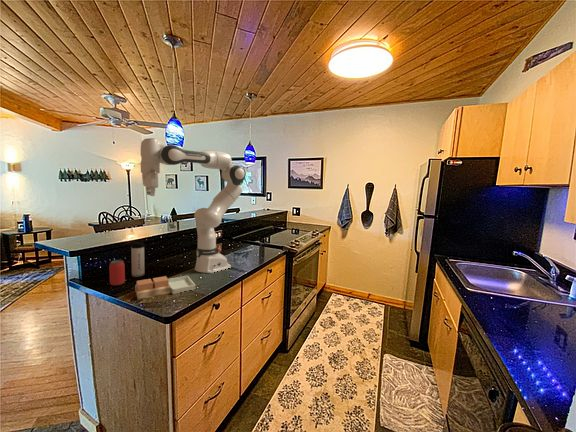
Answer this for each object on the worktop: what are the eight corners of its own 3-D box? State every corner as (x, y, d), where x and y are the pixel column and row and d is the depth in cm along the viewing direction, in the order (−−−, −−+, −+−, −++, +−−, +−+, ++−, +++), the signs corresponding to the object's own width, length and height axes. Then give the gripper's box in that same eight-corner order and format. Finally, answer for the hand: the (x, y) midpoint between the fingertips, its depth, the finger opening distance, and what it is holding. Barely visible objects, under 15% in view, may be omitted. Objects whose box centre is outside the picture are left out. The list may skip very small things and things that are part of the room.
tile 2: (166, 281, 126) (166, 276, 126) (168, 285, 121) (168, 279, 121) (152, 283, 122) (152, 278, 122) (155, 288, 118) (154, 282, 117)
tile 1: (150, 284, 122) (150, 278, 121) (152, 288, 117) (152, 282, 117) (136, 286, 118) (136, 280, 118) (138, 291, 113) (138, 285, 113)
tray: (187, 279, 137) (187, 275, 137) (195, 289, 125) (195, 285, 125) (165, 283, 130) (165, 279, 130) (172, 294, 118) (172, 289, 118)
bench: (166, 285, 129) (166, 279, 128) (170, 293, 120) (170, 287, 120) (135, 290, 120) (134, 285, 120) (137, 299, 111) (137, 293, 111)
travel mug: (134, 272, 143) (134, 239, 140) (146, 273, 143) (146, 240, 141) (128, 276, 136) (128, 242, 134) (141, 277, 137) (140, 242, 135)
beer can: (117, 286, 124) (116, 264, 122) (106, 284, 125) (105, 262, 123) (128, 281, 130) (127, 260, 129) (117, 280, 131) (117, 258, 130)
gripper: (161, 169, 123) (161, 196, 125) (152, 170, 139) (153, 194, 140) (147, 168, 119) (147, 196, 121) (140, 169, 135) (140, 194, 136)
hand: (150, 195), depth 131 cm, fingers open, 8 cm apart
